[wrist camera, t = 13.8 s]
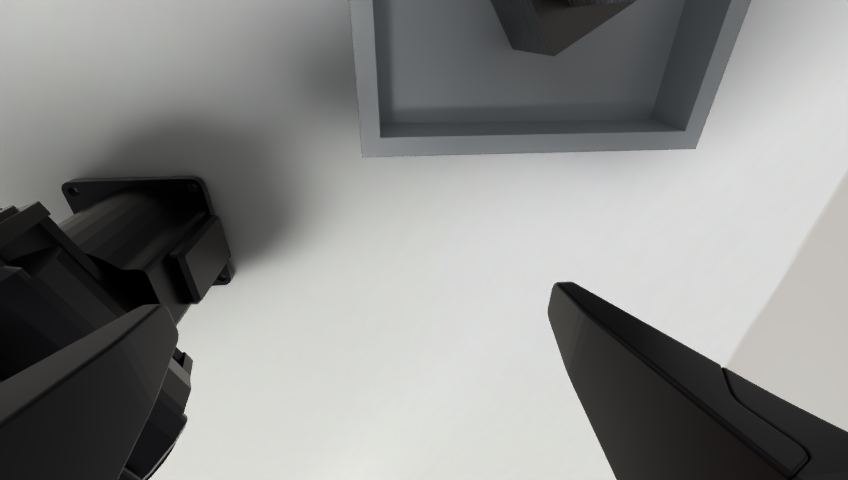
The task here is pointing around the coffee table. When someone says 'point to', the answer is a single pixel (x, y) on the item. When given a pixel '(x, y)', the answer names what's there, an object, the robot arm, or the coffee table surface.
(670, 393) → the robot arm
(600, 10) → the strut
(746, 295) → the coffee table surface
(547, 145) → the bin
